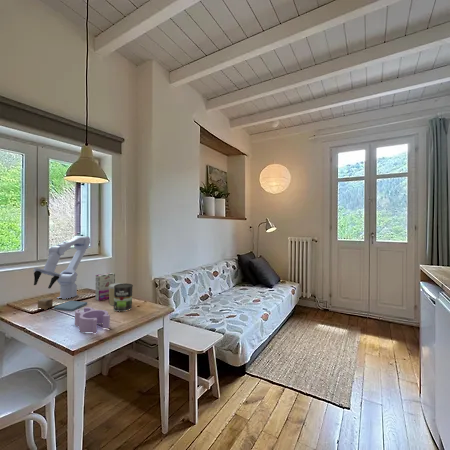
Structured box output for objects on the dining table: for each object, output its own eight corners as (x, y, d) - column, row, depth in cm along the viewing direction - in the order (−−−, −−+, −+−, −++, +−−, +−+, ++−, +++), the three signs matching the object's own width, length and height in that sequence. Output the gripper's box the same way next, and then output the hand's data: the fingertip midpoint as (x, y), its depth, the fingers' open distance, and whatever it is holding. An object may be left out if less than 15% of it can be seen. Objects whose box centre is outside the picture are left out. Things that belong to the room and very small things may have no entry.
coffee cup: (127, 303, 161) (127, 284, 161) (113, 307, 153) (114, 287, 153) (118, 300, 166) (119, 282, 166) (105, 304, 159) (105, 284, 158)
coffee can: (130, 311, 147) (131, 287, 147) (111, 312, 145) (112, 288, 145) (133, 305, 157) (134, 283, 157) (115, 306, 155) (116, 283, 155)
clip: (67, 325, 127) (68, 311, 126) (92, 318, 137) (92, 305, 137) (89, 337, 115) (89, 322, 115) (114, 327, 126) (114, 314, 126)
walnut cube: (45, 306, 151) (45, 298, 151) (52, 307, 150) (52, 298, 150) (37, 309, 146) (37, 300, 146) (45, 310, 145) (45, 301, 145)
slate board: (70, 302, 159) (70, 300, 159) (87, 304, 157) (87, 302, 157) (54, 309, 147) (54, 307, 147) (72, 311, 145) (72, 309, 145)
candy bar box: (111, 295, 175) (111, 272, 175) (115, 297, 172) (115, 273, 172) (94, 299, 166) (95, 274, 166) (98, 301, 163) (99, 276, 163)
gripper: (40, 259, 147) (30, 282, 140) (66, 266, 157) (58, 288, 150) (36, 261, 151) (26, 284, 144) (61, 268, 160) (53, 290, 154)
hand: (42, 286), depth 147 cm, fingers open, 7 cm apart
